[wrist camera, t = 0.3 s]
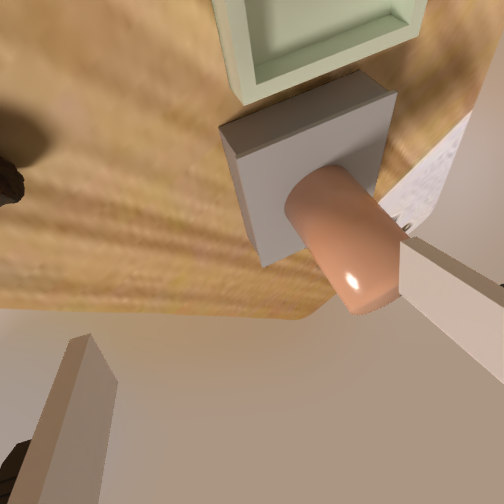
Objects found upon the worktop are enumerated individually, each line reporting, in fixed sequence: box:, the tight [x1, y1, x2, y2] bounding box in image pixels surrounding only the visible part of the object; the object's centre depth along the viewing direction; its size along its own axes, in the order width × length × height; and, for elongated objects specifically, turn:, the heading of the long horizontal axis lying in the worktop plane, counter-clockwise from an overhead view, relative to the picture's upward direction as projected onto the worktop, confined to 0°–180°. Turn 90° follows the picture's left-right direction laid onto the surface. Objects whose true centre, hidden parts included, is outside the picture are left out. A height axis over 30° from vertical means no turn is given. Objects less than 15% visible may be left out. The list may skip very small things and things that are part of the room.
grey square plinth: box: [218, 70, 398, 268], centre depth 29 cm, size 14×12×4 cm
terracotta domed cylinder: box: [284, 165, 410, 315], centre depth 26 cm, size 6×6×10 cm
